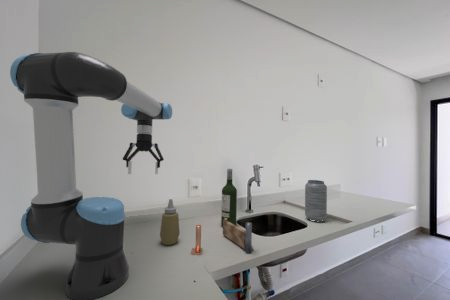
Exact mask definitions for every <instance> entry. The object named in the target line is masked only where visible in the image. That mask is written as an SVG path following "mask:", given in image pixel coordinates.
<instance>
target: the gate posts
mask: <svg viewBox="0 0 450 300" xmlns="http://www.w3.org/2000/svg"><path fill="white" fill-rule="evenodd" d="M252 229H253V223H252V222H250V221H248V222H245V249H244V248H242V251H243V252H244V253H246V254H248V255H249V254H252V252H254V251H255V249H254V246H253V245H252V241H253V239H252V237H253V235H252V233H253V231H252ZM191 254H193V255H195V256H199V255H203V247H202V224H196V225H195V247H191V251H190V255H191ZM193 255H192V256H193Z"/></svg>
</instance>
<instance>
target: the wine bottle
mask: <svg viewBox="0 0 450 300" xmlns="http://www.w3.org/2000/svg"><path fill="white" fill-rule="evenodd" d="M226 172H227V173H226V184H225V185H224V186H223V187H222V189H221V215H220V216H221V219H220V220H221V222H220V223H221V227H222V228H223V221H224V218H227V221H229V222H230V223H232V224H234V225H236V226H237V205H238V204H237V203H238V198H237V197H238V190H237V188H236V186H235V185H234V184H233V168H227V170H226Z"/></svg>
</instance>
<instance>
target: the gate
mask: <svg viewBox="0 0 450 300" xmlns="http://www.w3.org/2000/svg"><path fill="white" fill-rule="evenodd" d="M245 231H246V229H243V228H241V227H240V226H237V224H236V225H234V224H232V223H230V222H229V221H227V218H224V221H223V227H222V235H223V236H225V237H226V238H227V239H229V240H231V241H232V243H233V242H234V244H236V245H238V246H239V247H241V248H242V249H243V248H244V249H245Z"/></svg>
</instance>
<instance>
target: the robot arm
mask: <svg viewBox="0 0 450 300" xmlns="http://www.w3.org/2000/svg"><path fill="white" fill-rule="evenodd" d="M9 70H10V71H9V75H10V76H9V77H10V79H11V82H12V84H13V85H14V87H16V89H17V90H18V91H19V92H20V93H22V94H23V98H24V99H23V100H24V102H25V103H26V104H28V105H29V106H30V107H31V108H32V119H33V133H34V148H35V165H36V180H37V194H36V195H35V196H34V197H33V198H31V199H30V205H29V206H28V208H27V209H26V211H25V213H23V214H22V216H21V220H20V229H21V231H22V233H23V235H24V236H25V237H26V238H27V239H30V240H31V241H36V242H40V243H43V244H44V243H45V244H50V243H52V244H54V243H55V244H63V245H74V246H75V259H74V260H75V261H74V262H73V265H72V268H71V270H70V273H69V275H68V277H67V280H66V284H65V294H66V296H67V297H68V298H69V299H71V300H94V299H99V298H100V297H103V296H107V295H108V294H110V293H113V292H114V291H116V290H118V288H121V287H122V286H123V284H125V283H126V281H128V278H129V273H130V269H129V268H130V267H129V263H128V260H127V258H126V255H125V251H124V238H125V237H124V236H125V235H124V234H125V232H124V231H125V218H126V214H125V205H124V203H123V202H122V200H119V198H118V199H117V198H114V197H108V196H102V197H100V196H93V197H86V198H83V197H84V196H83V191H81V190H79V189H78V188H77V178H76V177H77V176H76V158H75V157H76V155H75V139H74V138H75V136H74V118H73V111H74V110H75V109H76V108H77V107H78V106H79V98H81V97H84V98H85V97H95V98H103V99H104V100H107V101H113V102H114V101H117V102H120V103H121V104H122V105H121V108H120V109H121V110H120V111H121V114H122V115H123V116H124V117H125V118H127V119H129V120H134V121H137V122H136V123H137V125H136V133H137V134H136V142H129V147H128V148H127V149H126V152H125V154H124V155H123V156H122V161H126V165H125V166H126V168H127V175H131V174H132V163H133V162H132V161H131V160H132V159H133V158H134V157H135V156H136V155H137V154H138V153H139V152H149V153H150V155H151V156H152V157H153V159H155V160H156V161H155V172H154V174H155V175H158V173H159V169H160V168H161V162H162V161H164V157H163V155H162V152H161V150H160V148H159V144H158V143H157V142H155V143H153V135H152V134H153V120H163V121H164V120H171V118H172V116H173V107H172V106H171V104H170V103H168V102H167V103H165V102H160V101H158V100H156V99H155V98H154V97H152V96H151V95H149V94H148V93H147V92H145V91H143V89H141V88H139V87H137V86H136V85H134V84H133V83H132V82H130V81H128V80H127V78H126V76H125V74H123V73H122V72H120V71H119V70H117V69H116V68H115V67H113V66H112V65H109V64H108V63H106V62H105V61H102V60H100V59H99V58H96V57H93V56H91V55H88V54H86V53H85V54H84V53H82V52H76V51H65V52H47V53H46V52H45V53H42V52H32V53H29V54H26V55H25V54H24V55H21V56H19V57H17V58H16V59H14V61H13V62H12V64H11V65H10V69H9ZM135 147H136V149H135V150H134V151H133V148H135ZM152 147H153V148H154V149H155V151H156V153H157V154H156V153H155V152H154V151H153V149H152ZM132 151H133V152H132ZM131 152H132V153H131ZM157 155H158V156H157Z"/></svg>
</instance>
